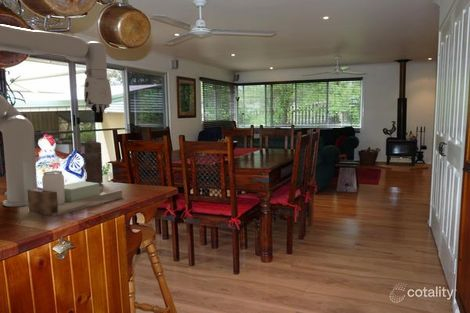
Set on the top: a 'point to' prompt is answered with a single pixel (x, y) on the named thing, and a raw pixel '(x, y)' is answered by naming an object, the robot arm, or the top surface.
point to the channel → (48, 204)
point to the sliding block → (80, 191)
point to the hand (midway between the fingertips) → (98, 122)
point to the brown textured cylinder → (93, 162)
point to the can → (54, 184)
